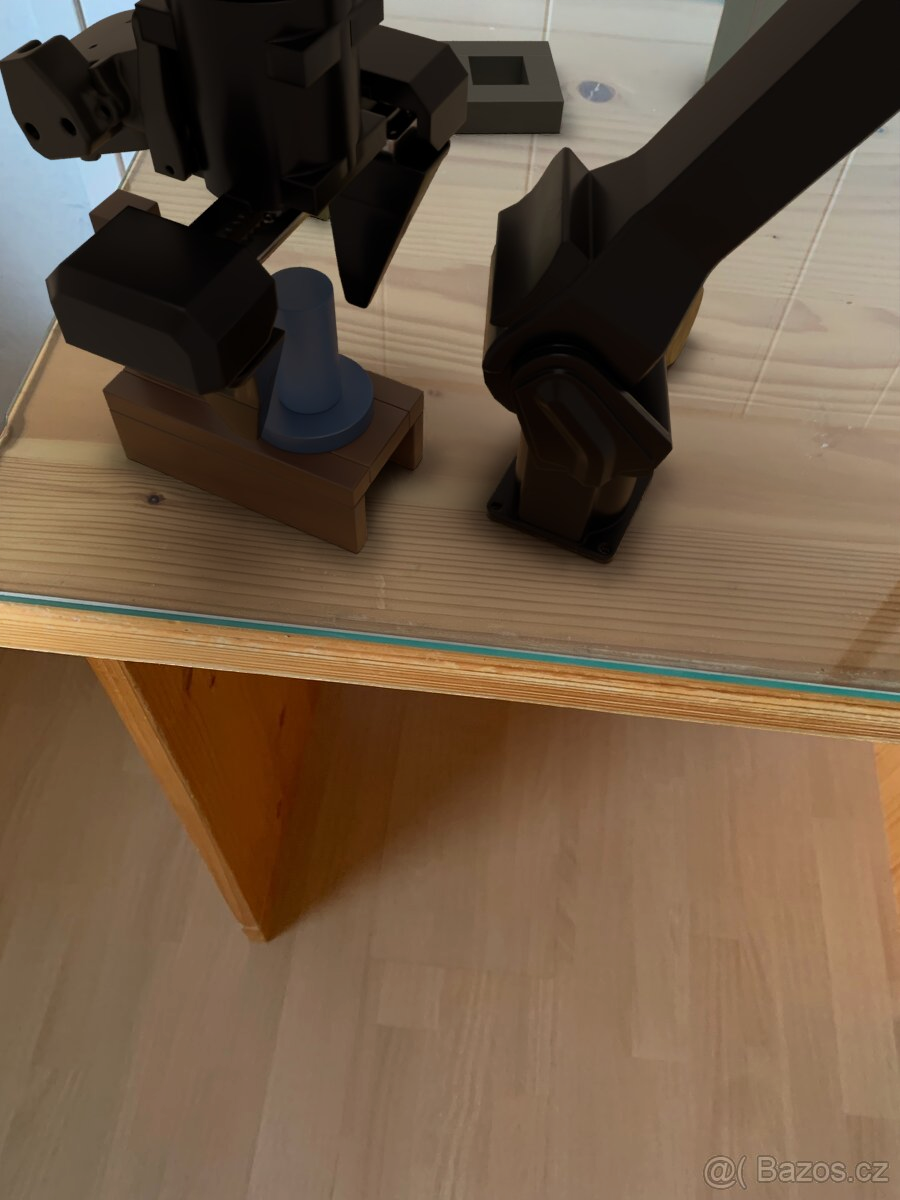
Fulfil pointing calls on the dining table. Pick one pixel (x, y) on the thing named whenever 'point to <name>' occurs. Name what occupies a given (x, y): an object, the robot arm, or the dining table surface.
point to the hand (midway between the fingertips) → (305, 366)
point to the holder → (510, 87)
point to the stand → (261, 442)
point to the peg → (314, 371)
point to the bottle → (739, 28)
